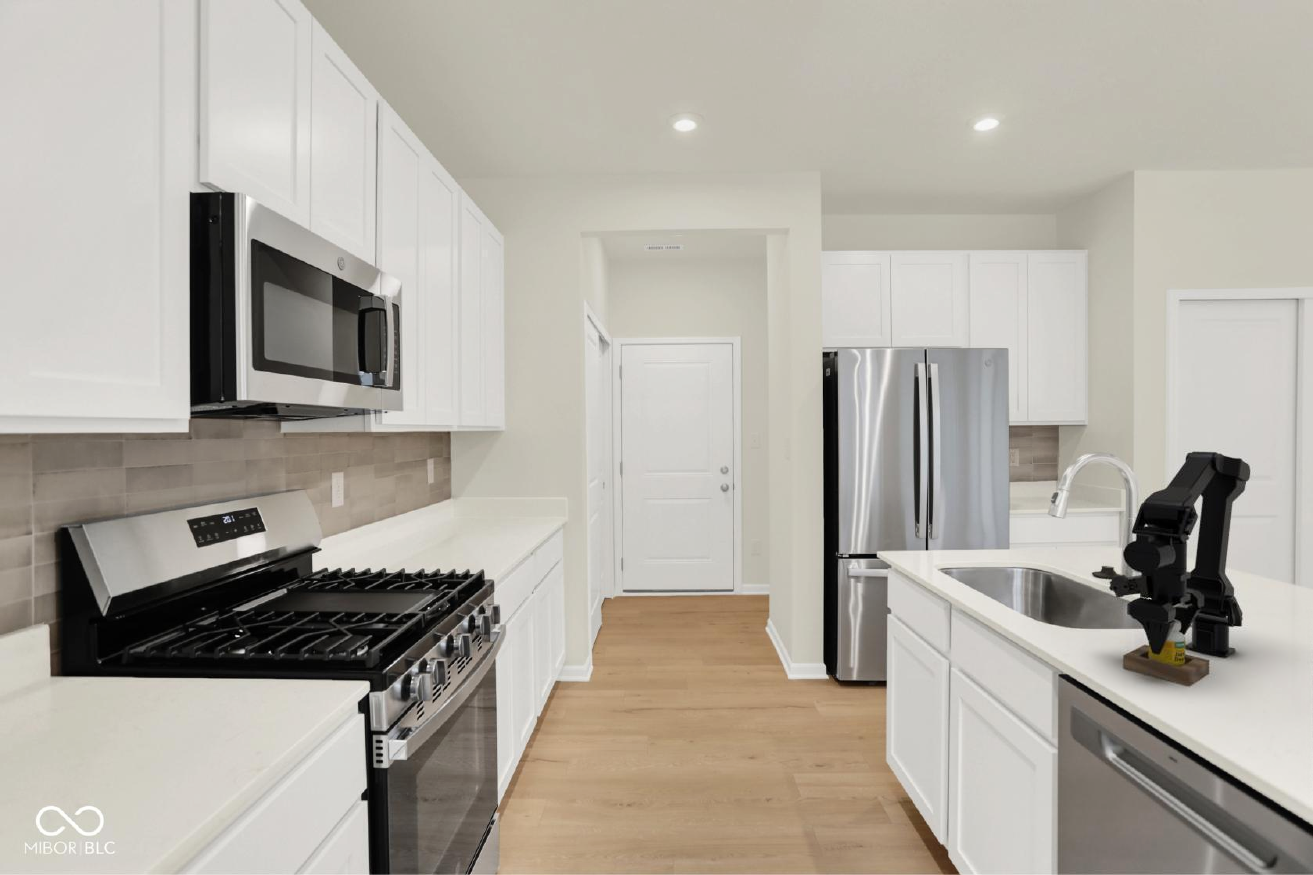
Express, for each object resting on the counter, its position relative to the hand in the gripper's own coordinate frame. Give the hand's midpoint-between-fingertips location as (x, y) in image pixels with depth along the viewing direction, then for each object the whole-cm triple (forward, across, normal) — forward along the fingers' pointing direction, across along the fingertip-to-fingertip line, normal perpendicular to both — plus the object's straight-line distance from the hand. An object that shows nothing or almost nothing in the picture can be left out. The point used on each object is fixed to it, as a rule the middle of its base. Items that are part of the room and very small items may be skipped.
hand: (1165, 648), depth 119 cm
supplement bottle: (+4, 0, 0) cm, 4 cm away
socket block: (+4, 0, 0) cm, 4 cm away
